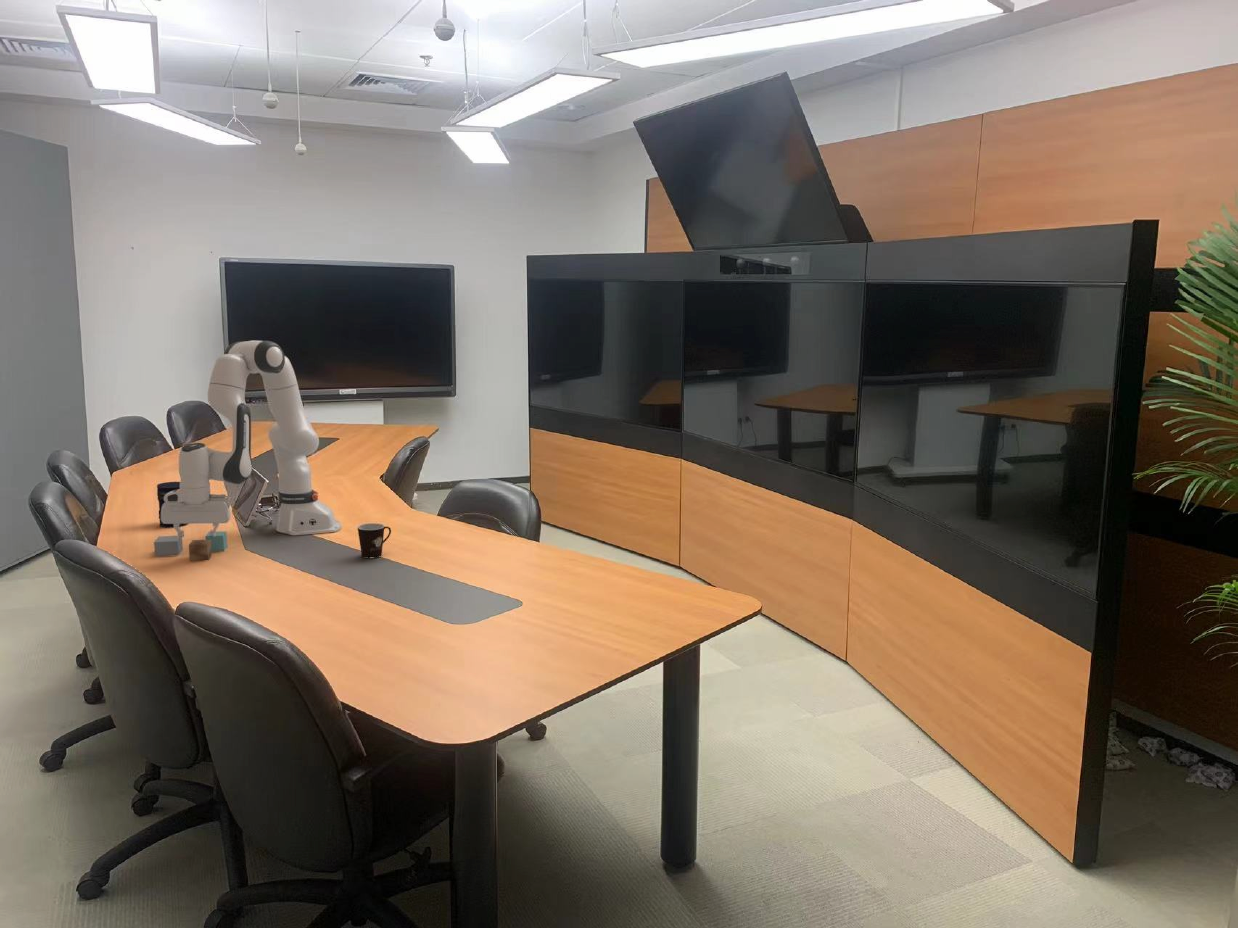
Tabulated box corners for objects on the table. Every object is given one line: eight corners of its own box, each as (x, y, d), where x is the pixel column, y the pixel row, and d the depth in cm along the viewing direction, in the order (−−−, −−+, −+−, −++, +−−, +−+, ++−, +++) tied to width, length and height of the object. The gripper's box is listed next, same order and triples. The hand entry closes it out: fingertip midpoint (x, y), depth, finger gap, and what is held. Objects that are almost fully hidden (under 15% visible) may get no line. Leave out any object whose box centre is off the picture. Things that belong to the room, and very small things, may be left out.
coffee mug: (361, 560, 293) (360, 531, 292) (355, 553, 301) (355, 524, 299) (397, 556, 299) (396, 527, 297) (390, 549, 306) (390, 521, 304)
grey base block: (182, 549, 300) (181, 535, 299) (178, 555, 294) (177, 541, 293) (159, 550, 298) (158, 536, 297) (155, 557, 292) (153, 542, 291)
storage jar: (153, 525, 327) (150, 485, 324) (174, 519, 336) (171, 480, 333) (174, 529, 324) (171, 488, 321) (195, 522, 333) (192, 483, 330)
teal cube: (227, 546, 305) (226, 531, 304) (224, 551, 299) (223, 535, 298) (209, 547, 303) (208, 531, 302) (206, 552, 298) (205, 536, 297)
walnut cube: (211, 555, 294) (210, 539, 293) (208, 560, 289) (207, 544, 288) (193, 556, 293) (192, 540, 292) (189, 561, 288) (188, 545, 287)
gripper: (232, 492, 292) (233, 533, 295) (163, 492, 288) (165, 534, 290) (228, 496, 286) (229, 538, 289) (158, 496, 282) (160, 539, 284)
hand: (196, 536), depth 289 cm, fingers open, 8 cm apart
